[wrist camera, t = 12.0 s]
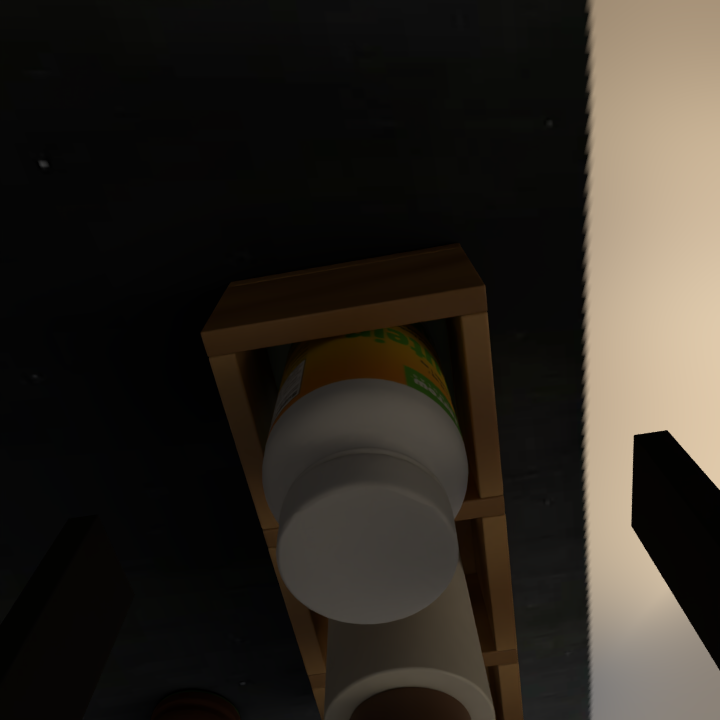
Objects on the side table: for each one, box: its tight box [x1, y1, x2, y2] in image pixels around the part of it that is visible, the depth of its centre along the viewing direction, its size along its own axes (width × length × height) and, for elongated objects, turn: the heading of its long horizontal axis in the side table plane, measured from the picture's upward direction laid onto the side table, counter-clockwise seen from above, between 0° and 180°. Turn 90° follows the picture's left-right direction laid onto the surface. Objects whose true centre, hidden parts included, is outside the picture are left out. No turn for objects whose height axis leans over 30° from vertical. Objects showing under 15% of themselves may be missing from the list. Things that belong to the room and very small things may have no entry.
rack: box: [201, 243, 523, 720], centre depth 24 cm, size 23×8×5 cm, turn 10°
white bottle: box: [324, 552, 495, 720], centre depth 21 cm, size 5×5×10 cm
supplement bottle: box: [262, 322, 468, 624], centre depth 17 cm, size 5×5×10 cm
